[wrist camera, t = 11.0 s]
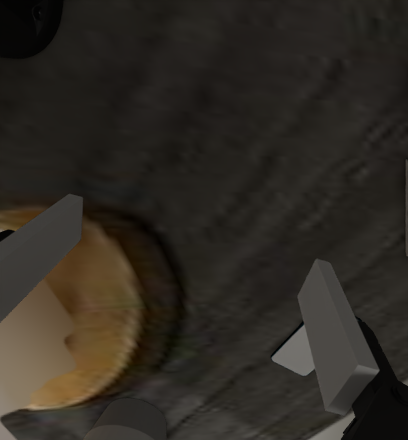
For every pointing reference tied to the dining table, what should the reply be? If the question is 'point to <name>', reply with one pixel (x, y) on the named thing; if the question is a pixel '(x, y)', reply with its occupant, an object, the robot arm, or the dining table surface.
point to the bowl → (129, 422)
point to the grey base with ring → (407, 207)
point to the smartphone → (296, 352)
